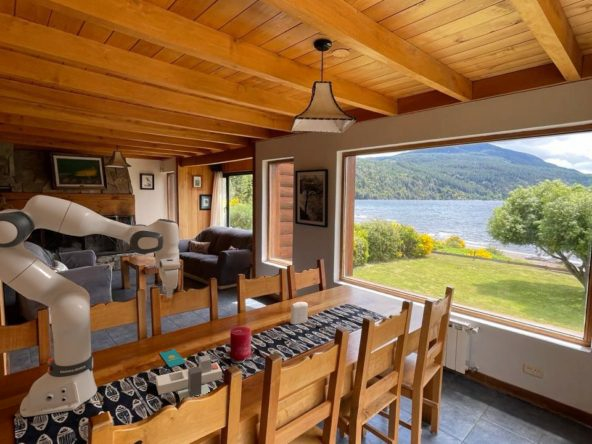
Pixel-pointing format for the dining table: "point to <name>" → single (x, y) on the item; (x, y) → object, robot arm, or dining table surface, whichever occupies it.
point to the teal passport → (172, 358)
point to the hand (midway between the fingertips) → (167, 293)
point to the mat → (185, 393)
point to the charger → (194, 381)
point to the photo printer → (299, 313)
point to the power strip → (181, 377)
